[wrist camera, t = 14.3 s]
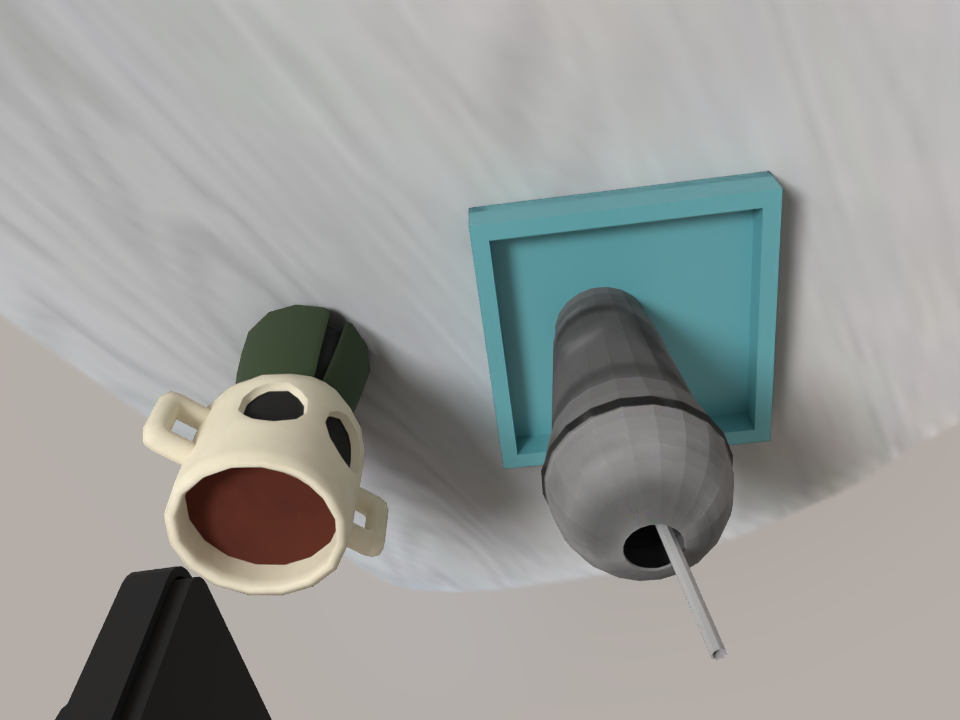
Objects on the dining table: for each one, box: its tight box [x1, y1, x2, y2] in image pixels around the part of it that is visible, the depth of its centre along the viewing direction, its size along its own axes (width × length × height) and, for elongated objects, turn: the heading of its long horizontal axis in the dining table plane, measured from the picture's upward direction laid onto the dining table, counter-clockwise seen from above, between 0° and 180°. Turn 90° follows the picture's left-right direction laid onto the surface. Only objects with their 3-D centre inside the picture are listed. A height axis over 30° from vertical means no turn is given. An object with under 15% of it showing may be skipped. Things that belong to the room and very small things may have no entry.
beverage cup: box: [541, 287, 734, 660], centre depth 36 cm, size 7×7×20 cm
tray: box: [469, 171, 783, 469], centre depth 44 cm, size 14×14×2 cm
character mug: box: [143, 305, 388, 595], centre depth 41 cm, size 11×7×13 cm, turn 55°
